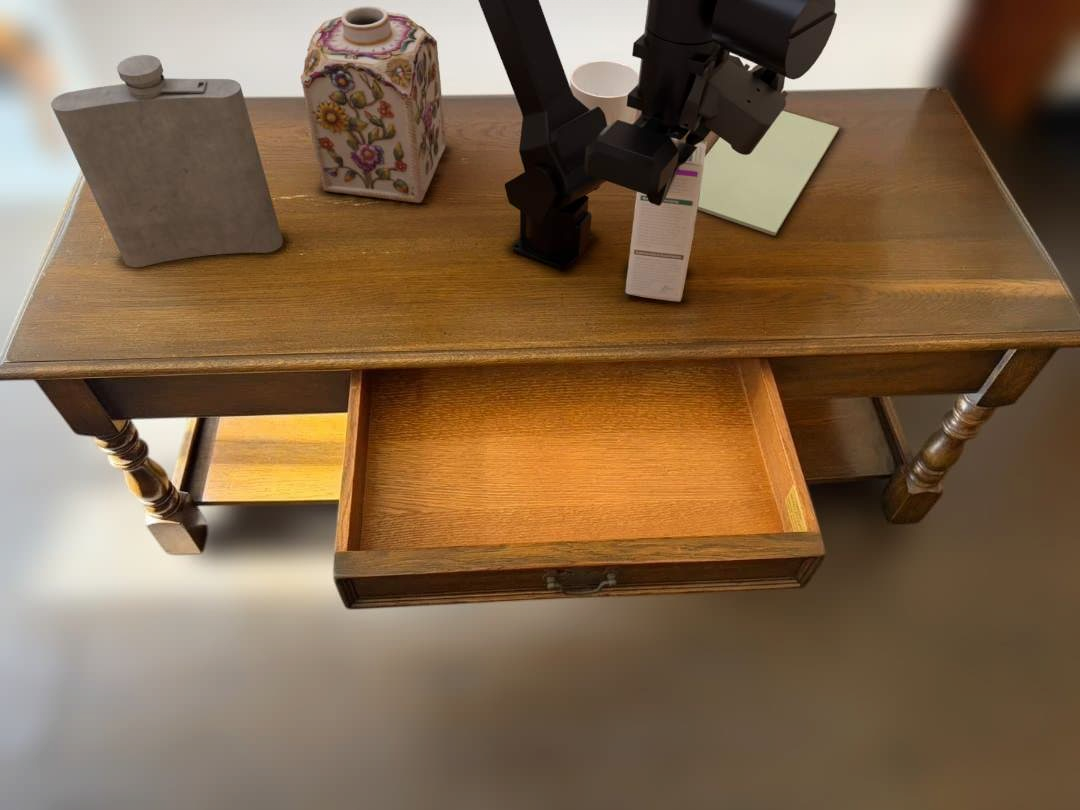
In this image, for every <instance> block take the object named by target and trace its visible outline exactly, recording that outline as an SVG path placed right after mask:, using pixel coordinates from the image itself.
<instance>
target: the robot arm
mask: <svg viewBox="0 0 1080 810" xmlns="http://www.w3.org/2000/svg"><path fill="white" fill-rule="evenodd" d="M478 3H479V6H480V9H481V12H482V13H483V16H484V19H485V21H486V24H487V26H488V29H489V32H490V35H491V37H492V39H493V42H494V45H495V48H496V50H497V52H498V55H499V57H500V60H501V62H502V66H503V68H504V71H505V74H506V75H507V79H508V82H509V83H510V87H511V88H512V92H513V94H514V96H515V99H516V101H517V104H518V106H519V107H518V108H519V110H520V112H521V115H522V122H521V131H520V140H519V146H518V147H519V148H518V151H519V156H520V159H521V163H522V166H523V167H522V168H523V170H524V172H522V173H520V174H519V175H517V176H515V177H514V178H512V179H510V180H508V181H507V182H505V183H504V190H505V192H506V196H507V201H508V204H509V205H511V206H512V207H514V208H515V209H517V210H519V238H518V239H516V241H515V242H514V243H513V244H512V246H511V249H512V252H514V253H516V254H519V255H521V256H524V257H527V258H529V259H532V260H535V261H537V262H539V263H542V264H545V265H547V266H549V267H553V268H555V269H557V270H560V271H566V270H568V269H569V267H570V266H571V265H572V264H573V263H574V261H575V260H577V258H579V257H580V256H581V255H582V254H583V253H584V251H585V250H586V249H587V248H588V246H589V245H590V242H591V241H592V239H593V233H592V232H591V228H592V217H593V214H592V213H591V212H590V211H589V200H590V197H589V196H588V195H589V194H590V193H592V192H593V191H597V190H599V189H600V188H601V186H602V185H603V184H605V183H606V182H608V183H611V184H615V185H617V186H620V187H623V188H626V189H628V190H631V191H634V192H636V193H637V192H640V193H643V194H646V195H647V198H648V200H649V202H650V203H652V204H655V205H658V206H660V205H661V204H662V203H663V201H664V200H665V198H666V196H667V193H668V191H669V189H670V187H671V185H672V183H673V181H674V178H675V176H676V174H677V172H678V170H679V168H680V166H681V165H683V164H684V163H685V162H686V161H687V160H688V159H689V157H690V156H691V155H692V154H693V153H694V151H695V150H696V149H697V147H696V146H694V145H696V144H698V143H700V142H701V141H703V140H706V138H707V137H708V136H709V134H711V132H712V133H713V134H715V135H716V136H717V137H719V138H720V137H721V138H722V139H723V140H725V141H726V142H728V143H729V144H730V145H731V147H732V149H733V150H735V151H736V152H738V153H740V154H743V155H749V154H751V152H752V151H753V150H754V148H755V147H756V146H757V144H758V143H759V142H760V140H761V139H762V138H763V136H764V135H765V134H766V132H767V131H768V129H769V128H770V127H771V125H772V124H773V123H774V121H775V120H776V119H777V117H778V116H779V114H780V113H781V112H782V111H784V110H785V107H786V106H787V101H786V98H787V96H788V95H789V93H788V91H786V90H784V87H785V80H786V78H787V79H788V80H796V79H800V78H802V77H803V76H804V75H805V74H806V73H807V72H809V70H810V69H811V68H812V67H813V66H814V65H815V63H816V62H817V60H818V59H819V58H820V56H821V55H822V53H823V51H824V50H825V47H826V46H827V44H828V41H829V39H830V37H831V35H832V34H833V33H832V32H833V29H834V27H835V25H836V21H837V16H838V14H837V12H835V11H836V6H837V5H836V0H647V8H646V14H645V15H646V16H645V24H644V32H643V34H641V35H640V36H639V37H638V38H637V39H636V40H635V41H634V42H633V46H632V53H631V56H632V57H633V58H637V59H640V65H639V71H638V73H639V81H638V85H637V86H636V87H635V88H634V89H633V90H632V91H631V92H630V93H629V94H628V97H627V107H631V108H634V109H637V111H640V113H641V114H640V115H639V116H638V118H636V120H635V122H634V123H633V124H630V123H627V122H623V121H620V120H616V121H615V122H613V123H612V124H610V125H608V126H607V122H606V117H605V114H604V112H603V111H602V109H601V108H600V107H595V108H594V109H592V110H590V109H589V108H588V107H586V106H585V105H584V104H583V103H582V102H581V101H579V100H578V99H577V98H576V97H575V96H574V95H573V93H572V91H571V88H570V82H569V80H568V77H567V75H566V72H565V69H564V66H563V64H562V61H561V58H560V55H559V51H558V49H557V47H556V43H555V41H554V39H553V35H552V32H551V30H550V28H549V25H548V21H547V19H546V16H545V14H544V9H543V7H542V5H541V2H540V0H478ZM732 54H733V55H732ZM741 58H742V59H744V60H746V61H749V62H751V63H753V64H756V65H754V66H753V67H752V68H751V65H750V64H748V63H745V64H744V63H743V62H742V60H741ZM750 68H751V69H750ZM749 69H750V70H749Z"/></svg>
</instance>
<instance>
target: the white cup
mask: <svg viewBox="0 0 1080 810" xmlns="http://www.w3.org/2000/svg"><path fill="white" fill-rule="evenodd" d="M638 81H639V71H638V70H637V69H635V68H634V67H632V66H631V65H628V64H626V63H623V62H619V61H616V60H615V61H614V60H606V59H605V60H603V59H602V60H600V59H599V60H592V61H588V62H584V63H581V64H579V65H578V66H576V67H575V68H573V69H572V70H571V73H570V76H569V85H570V88H571V91H572V93H573V95H574V96H575V97H576V98H577V99H578V100H579V101H581V102H582V103H583V104H584V105H585V106H586V107H588V108H589V109H590V110H592V109H594V108H595V107H600V108H601V109H602V111H603V112H604V114H605V117H606V122H607V126H608V125H610V124H612V123H613V122H615V121H616V120H620V121H623V122H627V123H630V124H633V123H634V122H635V121H636V120H637V113H638V110H637V109H634V108H631V107H627V97H628V94H629V93H630V92H631V91H632V90H633V89H634V88H635V87H636V86H637V85H638Z"/></svg>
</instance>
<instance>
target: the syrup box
mask: <svg viewBox="0 0 1080 810" xmlns="http://www.w3.org/2000/svg"><path fill="white" fill-rule="evenodd" d="M707 143H708V142H707V140H706V139H704V140H703V141H701V142H700V143H698V144H696V145H694V146H696V147H697V149H696V150H695V151H694V153H693V154H692V155H691V156H690V157H689V159H688V160H687V161H686V162H685V163H684V164H683V165H681V166H680V168H679V170H678V172H677V174H676V176H675V178H674V181H673V183H672V185H671V187H670V189H669V191H668V193H667V196H666V198H665V200H664V201H663V203H662V204H661V205H660V206H658V205H655V204H652V203H650V202H649V200H648V198H647V195H646V194H643V193H640V192H637V191H636V195H635V205H634V211H633V220H632V227H631V237H630V244H629V255H628V263H627V264H628V265H627V271H626V278H625V279H626V281H625V289H624V292H625V294H627V295H631V296H637V297H642V298H647V299H648V298H649V299H654V300H655V299H656V300H662V301H663V300H664V301H671V302H678V303H679V302H681V301H682V298H683V292H684V288H685V283H686V278H687V272H688V267H689V260H690V254H691V250H692V244H693V239H694V233H695V228H696V222H697V217H698V211H699V210H698V203H699V196H700V189H701V182H702V175H703V168H704V159H705V156H706V149H707Z"/></svg>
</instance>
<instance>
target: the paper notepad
mask: <svg viewBox="0 0 1080 810" xmlns="http://www.w3.org/2000/svg"><path fill="white" fill-rule="evenodd" d="M839 130H840V127H839V126H836V125H832V124H829V123H826V122H822V121H819V120H815V119H812V118H809V117H806V116H802V115H799V114H795V113H791V112H788V111H785V110H782V112H781V113H780V114H779V116H778V117H777V119H776V120H775V121H774V123H773V124H772V125H771V127H770V128H769V129H768V131H767V132H766V134H765V135H764V136H763V138H762V139H761V140H760V142H759V143H758V144H757V146H756V147H755V148H754V150H753V151H752V152H751V154H749V155H743V154H740V153H738V152H736V151H735V150H733V149H732V147H731V145H730V144H729V143H728V142H726V141H725V140H723V139H722V138H721V137H719V138H718V139H717V141H716V142H715V143H714V144H713V146H712V147H711V149H710V150H709V151H708V153H706V154H705V159H704V168H703V175H702V182H701V189H700V196H699V203H698V210H697V211H700V212H703V213H707V214H709V215H712V216H715V217H718V218H721V219H724V220H726V221H729V222H732V223H735V224H738V225H741V226H744V227H747V228H750V229H752V230H756V231H759V232H762V233H765V234H766V235H767V234H768V235H770V236H773V237H775V236H776V235H777V234H778V231H779V230H780V228H781V227H782V225H783V224H784V222H785V220H786V218H787V217H788V215H789V213H790V211H791V210H792V209H793V207H794V205H795V203H796V202H797V200H798V199H799V197H800V195H801V193H802V192H803V190H804V189H805V187H806V185H807V183H808V182H809V180H810V178H811V177H812V175H813V174H814V172H815V170H816V168H817V167H818V165H819V164H820V162H821V160H822V158H823V157H824V155H825V154H826V152H827V150H828V149H829V147H830V145H831V143H832V142H833V140H834V138H835V137H836V135H837V134H838V132H839Z"/></svg>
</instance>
